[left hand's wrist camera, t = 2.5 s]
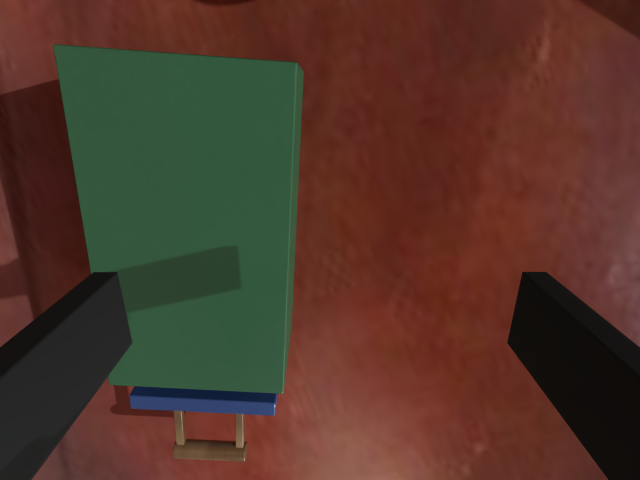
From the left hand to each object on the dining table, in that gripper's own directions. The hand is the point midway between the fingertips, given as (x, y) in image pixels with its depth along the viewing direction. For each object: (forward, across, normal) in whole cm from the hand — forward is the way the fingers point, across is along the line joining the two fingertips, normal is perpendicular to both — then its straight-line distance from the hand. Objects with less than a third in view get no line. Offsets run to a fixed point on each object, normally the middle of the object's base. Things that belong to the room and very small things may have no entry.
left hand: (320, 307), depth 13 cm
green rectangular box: (+17, -8, -2) cm, 19 cm away
